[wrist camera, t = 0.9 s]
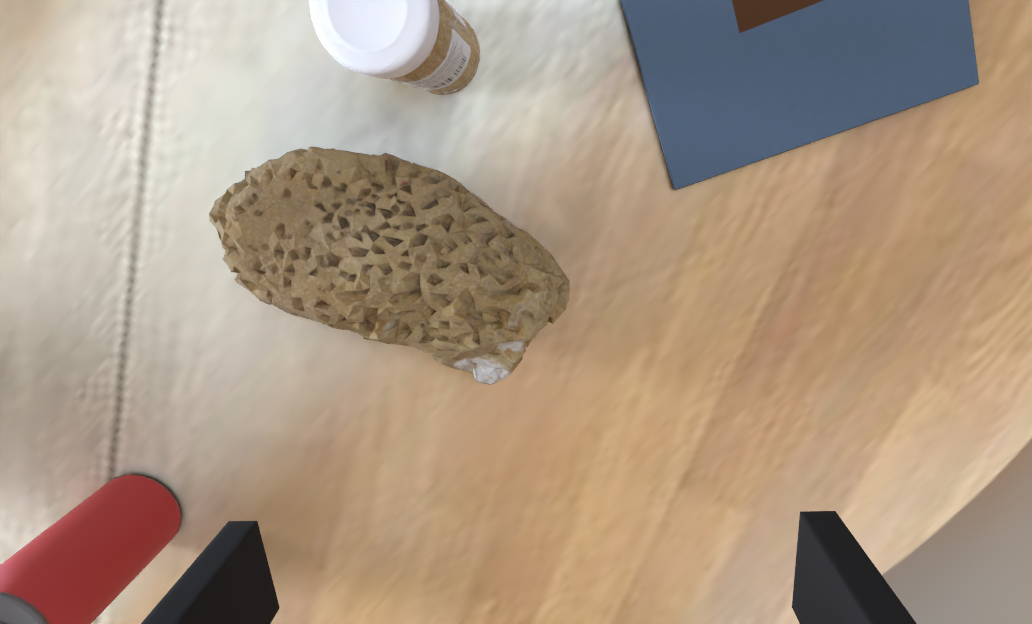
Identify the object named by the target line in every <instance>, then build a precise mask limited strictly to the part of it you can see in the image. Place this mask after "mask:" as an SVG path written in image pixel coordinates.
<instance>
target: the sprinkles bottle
mask: <svg viewBox="0 0 1032 624" xmlns="http://www.w3.org/2000/svg"><path fill="white" fill-rule="evenodd" d="M310 12H311V18H312V22H313V25H314V28H315V31H316V33H317V35H318V37H319V39H320V41H321V43H322V44H323V46H324V47H325V48H326V50H327V51H328V52H329V53H330V54H331V56H333V57H334V58H335V59H336V60H337V61H338V62H340V63H341V64H342V65H344V66H346V67H347V68H349V69H351V70H354V71H356V72H358V73H361V74H364V75H367V76H370V77H375V78H381V79H391V80H394V81H397V82H400V83H403V84H406V85H410V86H413V87H417V88H420V89H425V90H427V91H429V92H431V93H434V94H440V95H444V94H452V93H454V92H456V91H459V90H460V89H462V88H463V87H465V86H466V85H467V84H468V83H469V82H470V81H471V79H472V78H473V77H474V75H475V73H476V70H477V67H478V63H479V53H480V50H479V43H478V40H477V37H476V35H475V32H474V30H473V29H472V28H471V27H470V25H469V24H468V23H467V22H466V20H465V19H464V18H462V17H461V16H460V15H459V14H458V13H457V12H456V10H455V9H454V8H453V7H452V6H451V5H450V4H449V3H448V2H447V1H446V0H310Z"/></svg>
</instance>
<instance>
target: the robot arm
mask: <svg viewBox="0 0 1032 624" xmlns="http://www.w3.org/2000/svg"><path fill="white" fill-rule="evenodd" d="M792 608H793V610H794V612H795V614H796V616H797V618H798V620H799V623H800V624H916V622H915V621H914V620H913V618H912V617H911V615H910V614H909V613H908V611H907V610H906V608H905V607H904V606H903V604H902V603H901V602H900V600H899V599H898V597H897V596H896V595H895V593H894V592H893V591H892V589H891V588H890V586H889V585H888V584H887V582H886V581H885V579H884V578H883V577H882V575H881V574H880V572H879V571H878V570H877V568H876V567H875V566H874V564H873V563H872V561H871V560H870V559H869V557H868V556H867V554H866V553H865V552H864V550H863V549H862V548H861V546H860V545H859V543H858V542H857V541H856V539H855V538H854V536H853V535H852V534H851V532H850V531H849V530H848V528H847V527H846V525H845V524H844V523H843V521H842V520H841V519H840V517H839V516H838V514H837V513H836V512H835V511H814V512H800V520H799V531H798V543H797V555H796V567H795V578H794V590H793V602H792ZM278 610H279V604H278V600H277V596H276V592H275V588H274V584H273V580H272V577H271V573H270V569H269V565H268V561H267V557H266V553H265V549H264V545H263V542H262V538H261V534H260V530H259V526H258V522H257V521H228V523H227V524H226V525H225V526H224V527H223V528H222V530H221V531H220V532H219V533H218V534H217V535H216V537H215V538H214V539H213V540H212V541H211V542H210V544H209V545H208V546H207V547H206V548H205V549H204V551H203V552H202V553H201V554H200V555H199V557H198V558H197V559H196V560H195V561H194V562H193V564H192V565H191V566H190V567H189V568H188V569H187V571H186V572H185V573H184V574H183V575H182V576H181V578H180V579H179V580H178V581H177V582H176V583H175V585H174V586H173V587H172V588H171V589H170V590H169V592H168V593H167V594H166V595H165V596H164V597H163V599H162V600H161V601H160V602H159V603H158V605H157V606H156V607H155V608H154V609H153V610H152V612H151V613H150V614H149V615H148V616H147V617H146V619H145V620H144V621H143V622H142V623H141V624H270V623H271V621H272V620H273V618H274V616H275V615H276V613H277V611H278Z"/></svg>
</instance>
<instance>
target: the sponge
mask: <svg viewBox="0 0 1032 624" xmlns="http://www.w3.org/2000/svg"><path fill="white" fill-rule="evenodd" d="M209 216H210V222H211V223H212V224H213V225H214V226H215V227H216V228H217V231H218V234H219V237H220V239H221V241H222V247H223V248H224V249H225V250H226V251H225V255H224V258H222V259H223V260H224V261H225V262H226V263H227V265H228V266H229V268H230V270H231V272H236V273H238V275H237V277H236V278H235V281H236V282H237V283H238V284H240V285H241V286H243V287H244V288H246V289H247V290H249V291H250V292H251V293H252V294H254V295H255V296H256V297H257V298H258V299H259V300H260V301H262V302H265V303H267V304H273V305H275V306H276V307H278V308H280V309H282V310H284V311H285V312H287V313H290V314H292V315H295V316H299V317H303V318H307V319H311V320H315V321H318V322H322V323H323V324H327V325H329V326H330V327H332V328H337V329H342V330H350V331H353V332H356V333H358V334H360V335H361V336H363V337H364V339H369V340H375V341H380V342H383V343H387V344H391V343H392V344H399V345H405V346H412V347H415V348H418V349H420V350H423V351H426V352H428V353H431V355H432V356H433V357H434V358H435V360H437V361H438V362H440V363H441V364H444V365H446V366H449V367H452V368H455V369H461V370H464V371H467V372H470V373H473V375H474V378H475V379H476V381H477V382H480V383H484V384H488V385H492V384H494V383H496V382H498V381H499V380H500V379H505V378H506V377H507V376H509V375H510V374H511V373H512V371H513V370H514V369H515V368H516V367H517V365H518V364H519V363H520V361H521V360H522V355H523V354H524V353H525V351H526V346H527V347H528V345H529V343H530V342H531V340H532V339H533V338H534V337H535V336H536V334H537V333H538V331H539V330H540V329H542V328H543V327H544V326H546V325H547V323H548V322H550V323H553V322H554V321H555V320H556V319H557V318H558V317H559V316H560V315H561V314H562V313H563V312H564V311H565V309H566V306H567V303H568V301H569V297H568V296H569V289H570V287H569V280H568V278H567V277H566V275H565V274H564V273H563V271H562V270H561V268H560V267H559V265H558V264H557V262H556V261H555V259H554V258H553V256H552V255H551V254H550V253H549V252H548V251H547V250H546V249H545V248H544V247H543V246H542V245H541V244H540V243H538V242H537V241H536V240H535V239H534V238H533V237H531V236H530V235H529V234H528V233H526V232H524V231H522V230H520V229H518V228H516V227H515V226H513V225H512V224H511V223H510V222H508V221H507V220H506V219H505V218H503V217H502V216H500V215H498V214H497V213H495V212H494V211H493V210H492V209H491V208H489V207H488V206H487V205H486V204H485V203H484V202H483V201H482V200H481V199H480V198H478V197H477V196H475V195H474V194H472V193H471V192H469V191H468V190H467V189H466V188H465V187H464V186H463V185H462V184H460V183H459V182H457V181H456V180H454V179H453V178H451V177H450V176H448V175H446V174H444V173H442V172H440V171H438V170H434V169H430V168H426V167H423V166H419V165H417V164H415V163H410V162H408V161H405V160H402V159H399V158H397V157H395V156H393V155H390V154H387V153H384V154H383V155H381V156H377V155H372V156H371V155H367V154H361V153H354V152H349V151H341V150H335V149H322V148H319V147H309V149H308V150H304V149H298V150H294V151H291V152H287V153H286V154H284V155H283V156H282V157H280V158H279V159H274V160H268V161H267V162H265V163H264V164H262V165H261V166H259V167H257V168H252V170H251V171H245V179H244V180H243V181H241V182H239V183H235V184H233V185H232V186H231V187H230V188H229V189H228V190H227V191H226V193H225V194H224V195H223V196H221V197H220V198H219V199H217V200H216V201H215V204H214V206H213V208H212V210H211V211H210V213H209Z"/></svg>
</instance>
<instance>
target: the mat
mask: <svg viewBox="0 0 1032 624" xmlns="http://www.w3.org/2000/svg"><path fill="white" fill-rule="evenodd" d="M620 1H621V5H622V8H623V12H624V15H625V19H626V22H627V26H628V29H629V33H630V36H631V40H632V44H633V47H634V51H635V54H636V58H637V61H638V65H639V68H640V72H641V75H642V79H643V82H644V86H645V90H646V93H647V97H648V100H649V104H650V107H651V111H652V114H653V118H654V121H655V125H656V129H657V132H658V136H659V139H660V143H661V146H662V150H663V153H664V157H665V160H666V164H667V167H668V171H669V175H670V178H671V182H672V185H673V189H675V190H677V189H680V188H682V187H685V186H688V185H691V184H694V183H697V182H700V181H702V180H705V179H708V178H711V177H714V176H717V175H720V174H722V173H725V172H728V171H731V170H734V169H737V168H740V167H742V166H745V165H748V164H751V163H754V162H757V161H760V160H763V159H765V158H768V157H771V156H774V155H777V154H780V153H783V152H785V151H788V150H791V149H794V148H797V147H800V146H803V145H805V144H808V143H811V142H814V141H817V140H820V139H823V138H825V137H828V136H831V135H834V134H837V133H840V132H843V131H846V130H848V129H851V128H854V127H857V126H860V125H863V124H866V123H868V122H871V121H874V120H877V119H880V118H883V117H886V116H888V115H891V114H894V113H897V112H900V111H903V110H906V109H908V108H911V107H914V106H917V105H920V104H923V103H926V102H929V101H931V100H934V99H937V98H940V97H943V96H946V95H949V94H951V93H954V92H957V91H960V90H963V89H966V88H969V87H971V86H974V85H977V84H979V79H978V72H977V64H976V56H975V48H974V41H973V33H972V25H971V17H970V10H969V2H968V0H620Z"/></svg>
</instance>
